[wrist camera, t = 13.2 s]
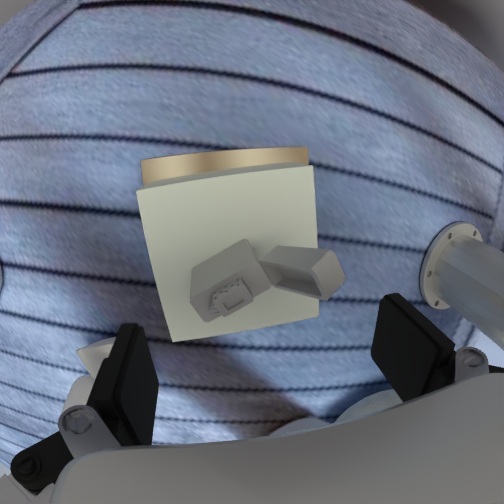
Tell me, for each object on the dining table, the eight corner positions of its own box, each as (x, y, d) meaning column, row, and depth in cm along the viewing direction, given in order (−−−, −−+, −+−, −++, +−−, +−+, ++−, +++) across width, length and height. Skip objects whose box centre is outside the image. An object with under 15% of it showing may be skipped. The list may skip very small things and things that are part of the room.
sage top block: (290, 161, 23) (312, 165, 18) (299, 287, 27) (318, 316, 22) (149, 181, 22) (136, 190, 17) (176, 308, 26) (172, 341, 21)
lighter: (204, 290, 20) (207, 367, 12) (190, 269, 19) (184, 341, 12) (298, 236, 20) (353, 287, 12) (286, 214, 19) (338, 254, 12)
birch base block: (290, 146, 27) (308, 147, 23) (293, 273, 32) (308, 295, 27) (151, 158, 26) (140, 160, 21) (169, 287, 30) (164, 312, 26)
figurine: (115, 383, 33) (93, 481, 19) (81, 323, 30) (32, 421, 16) (166, 375, 34) (159, 480, 20) (135, 311, 30) (102, 419, 16)
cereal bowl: (304, 410, 39) (318, 446, 33) (402, 355, 39) (427, 384, 32) (332, 451, 46) (344, 480, 39) (410, 408, 45) (428, 433, 39)
